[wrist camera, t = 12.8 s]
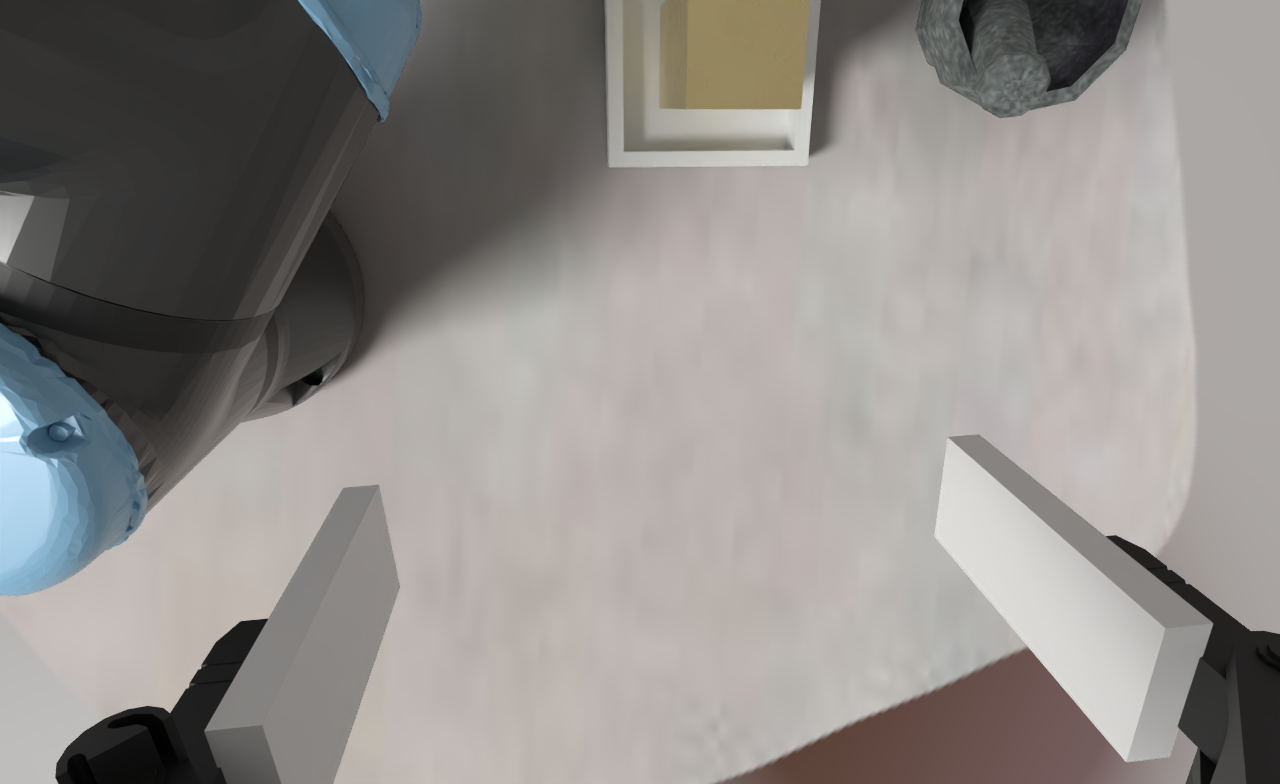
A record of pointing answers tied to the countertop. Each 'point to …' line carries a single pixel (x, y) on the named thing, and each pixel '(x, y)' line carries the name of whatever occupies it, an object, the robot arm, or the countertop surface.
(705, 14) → the brass block
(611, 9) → the white tray
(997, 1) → the mortar and pestle
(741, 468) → the countertop surface
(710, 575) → the countertop surface
